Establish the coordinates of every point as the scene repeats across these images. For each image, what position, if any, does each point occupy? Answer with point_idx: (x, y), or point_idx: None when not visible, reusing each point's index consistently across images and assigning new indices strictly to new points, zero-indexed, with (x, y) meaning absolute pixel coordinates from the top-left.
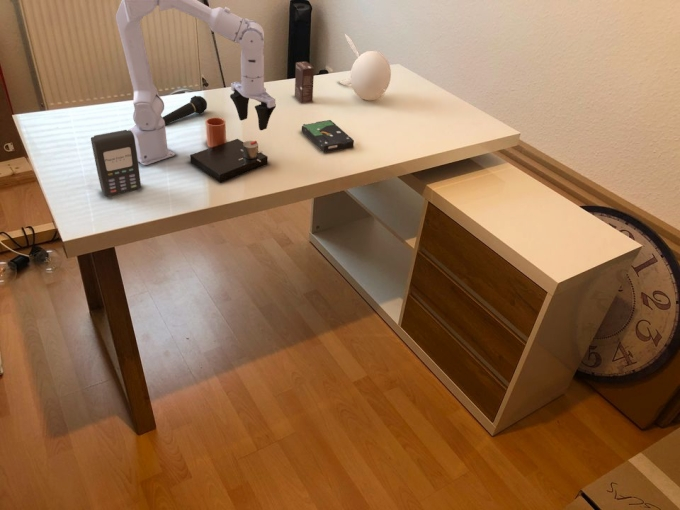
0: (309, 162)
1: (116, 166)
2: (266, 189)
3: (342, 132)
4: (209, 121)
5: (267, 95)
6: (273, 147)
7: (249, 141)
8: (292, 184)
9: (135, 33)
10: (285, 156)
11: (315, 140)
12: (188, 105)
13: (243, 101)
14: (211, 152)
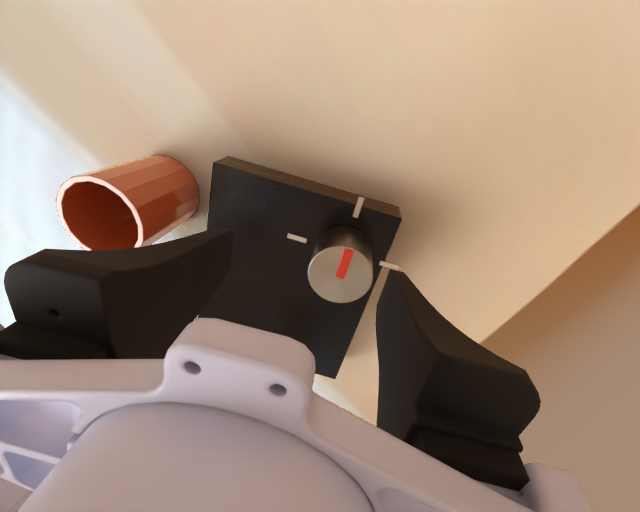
0: (565, 74)
1: None
2: (467, 330)
3: None
4: (73, 212)
5: (448, 500)
6: (344, 56)
7: (322, 260)
8: (540, 271)
9: None
10: (433, 99)
11: None
12: None
13: (162, 318)
14: (227, 299)
